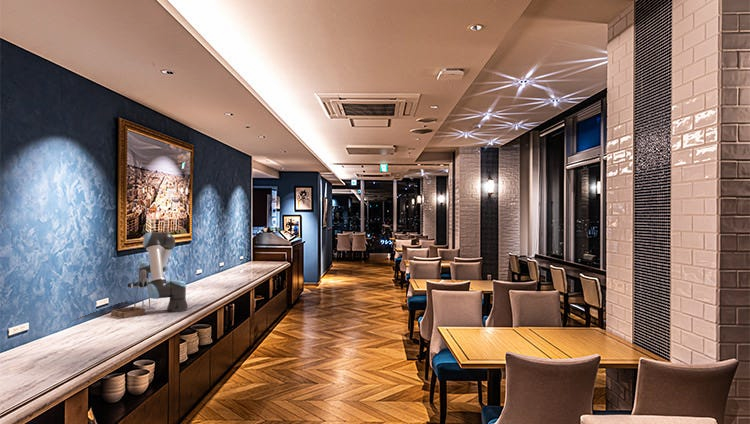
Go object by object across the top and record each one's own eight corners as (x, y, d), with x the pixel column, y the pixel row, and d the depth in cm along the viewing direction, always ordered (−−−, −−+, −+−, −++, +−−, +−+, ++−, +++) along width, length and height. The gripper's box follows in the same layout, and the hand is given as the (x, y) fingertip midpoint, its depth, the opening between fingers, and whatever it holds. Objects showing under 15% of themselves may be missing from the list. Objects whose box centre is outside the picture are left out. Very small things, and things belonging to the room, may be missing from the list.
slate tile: (154, 308, 374) (154, 307, 374) (137, 311, 362) (137, 310, 362) (144, 306, 382) (144, 305, 382) (127, 309, 370) (127, 308, 370)
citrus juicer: (143, 309, 366) (143, 270, 366) (130, 308, 367) (131, 270, 367) (150, 306, 378) (151, 268, 378) (138, 306, 378) (138, 268, 378)
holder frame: (145, 314, 353) (145, 309, 353) (122, 318, 338) (123, 313, 338) (133, 311, 361) (133, 306, 361) (110, 315, 347) (110, 310, 347)
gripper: (159, 286, 395) (158, 290, 375) (125, 287, 385) (123, 291, 365) (159, 277, 395) (158, 280, 375) (126, 278, 385) (123, 282, 365)
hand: (141, 286), depth 370 cm, fingers open, 13 cm apart
